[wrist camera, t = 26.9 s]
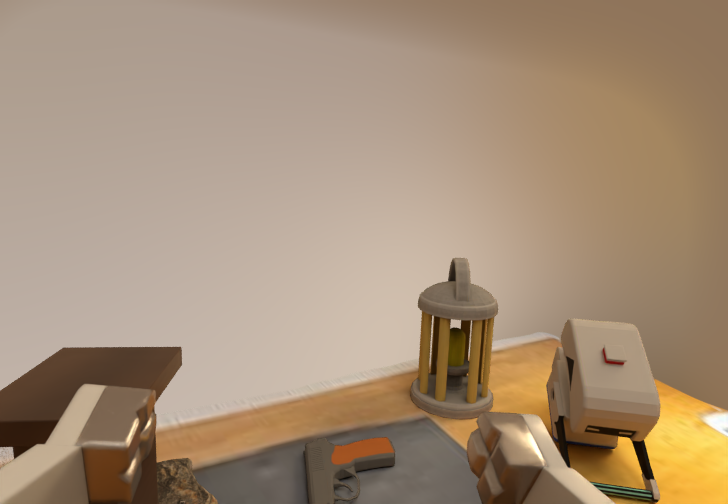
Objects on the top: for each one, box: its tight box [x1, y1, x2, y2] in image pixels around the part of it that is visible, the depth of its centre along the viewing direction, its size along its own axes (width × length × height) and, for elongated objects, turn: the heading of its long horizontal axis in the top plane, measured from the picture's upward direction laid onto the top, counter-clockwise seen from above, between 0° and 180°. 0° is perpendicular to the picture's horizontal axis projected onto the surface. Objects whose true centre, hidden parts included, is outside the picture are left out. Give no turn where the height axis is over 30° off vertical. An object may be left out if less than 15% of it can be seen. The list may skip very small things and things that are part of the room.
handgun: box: [304, 437, 395, 504], centre depth 56 cm, size 2×16×12 cm
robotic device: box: [547, 319, 660, 503], centre depth 63 cm, size 10×21×20 cm
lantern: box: [410, 258, 498, 419], centre depth 78 cm, size 14×14×25 cm
